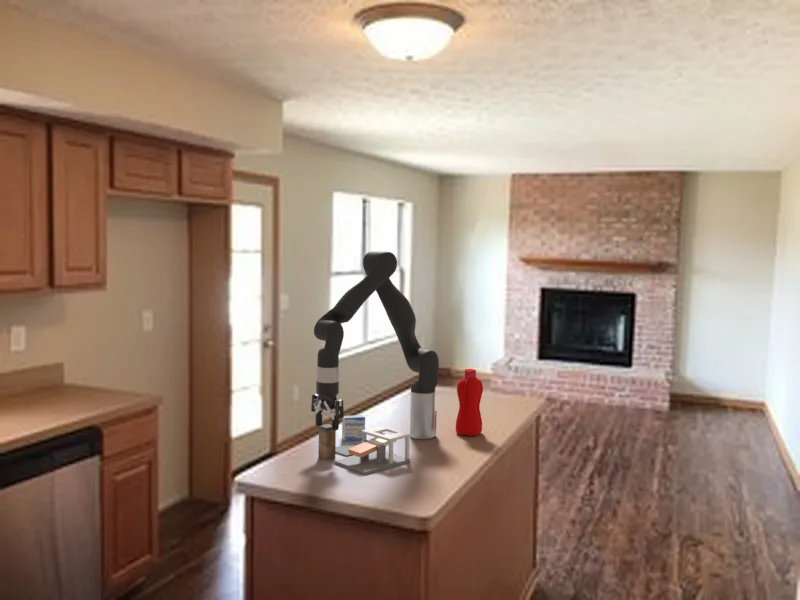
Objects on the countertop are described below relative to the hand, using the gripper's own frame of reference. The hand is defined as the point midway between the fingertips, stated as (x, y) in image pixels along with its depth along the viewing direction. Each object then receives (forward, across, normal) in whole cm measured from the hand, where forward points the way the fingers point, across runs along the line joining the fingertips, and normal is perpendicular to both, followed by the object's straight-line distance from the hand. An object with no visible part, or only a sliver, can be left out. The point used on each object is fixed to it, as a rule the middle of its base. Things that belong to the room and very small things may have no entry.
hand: (326, 427), depth 239 cm
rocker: (+4, -14, -8) cm, 17 cm away
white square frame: (+10, -14, -8) cm, 19 cm away
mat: (+10, +2, -11) cm, 15 cm away
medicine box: (+10, +12, -22) cm, 27 cm away
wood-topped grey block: (+10, 0, 0) cm, 10 cm away
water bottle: (+10, -11, -60) cm, 62 cm away
